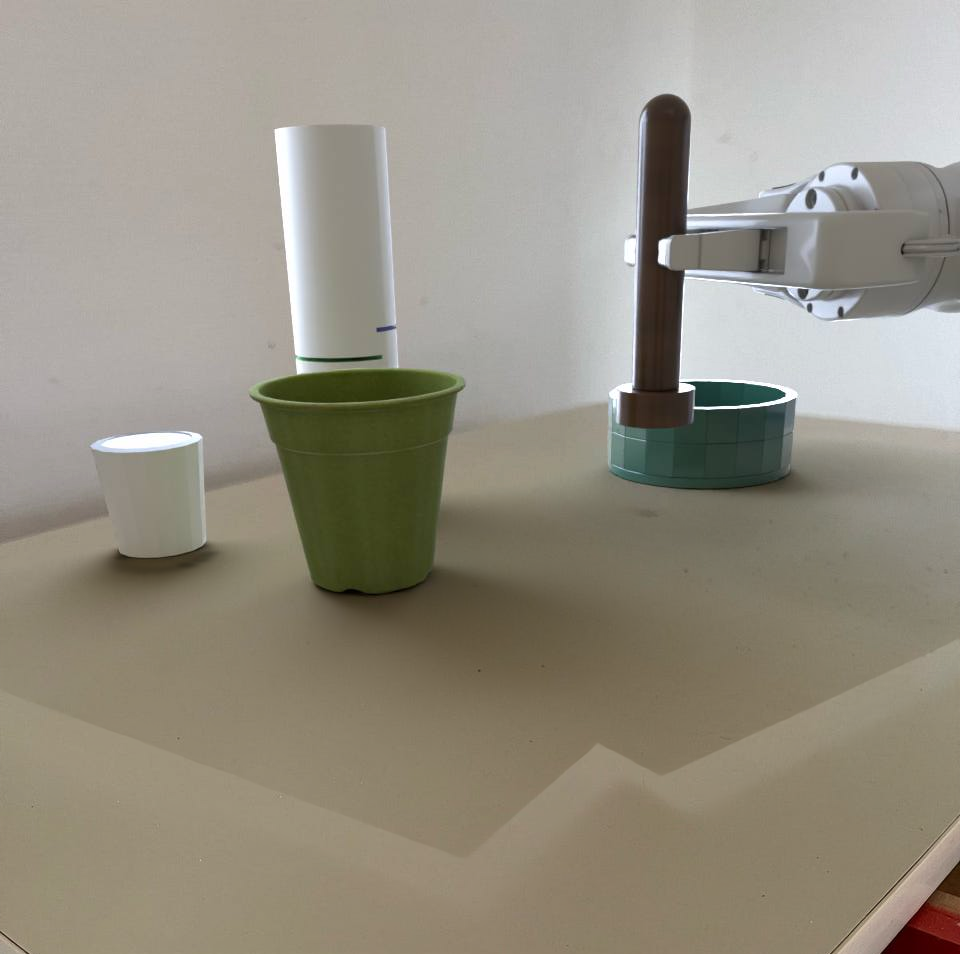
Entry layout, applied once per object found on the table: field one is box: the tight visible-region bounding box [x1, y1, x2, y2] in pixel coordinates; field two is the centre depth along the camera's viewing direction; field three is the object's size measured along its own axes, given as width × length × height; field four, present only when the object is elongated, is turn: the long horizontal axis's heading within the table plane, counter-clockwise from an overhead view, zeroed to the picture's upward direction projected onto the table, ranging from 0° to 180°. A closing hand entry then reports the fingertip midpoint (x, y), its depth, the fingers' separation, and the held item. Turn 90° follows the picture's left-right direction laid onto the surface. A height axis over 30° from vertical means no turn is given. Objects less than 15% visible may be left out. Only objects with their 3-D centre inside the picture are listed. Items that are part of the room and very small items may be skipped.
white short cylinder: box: [90, 430, 207, 559], centre depth 67 cm, size 7×7×7 cm
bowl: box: [606, 379, 798, 490], centre depth 83 cm, size 15×15×6 cm
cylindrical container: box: [274, 123, 400, 374], centre depth 71 cm, size 7×7×25 cm
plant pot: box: [248, 367, 467, 595], centre depth 58 cm, size 12×12×11 cm
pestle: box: [615, 93, 695, 429], centre depth 58 cm, size 5×5×17 cm
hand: (645, 252), depth 58 cm, fingers closed on pestle, 3 cm apart
